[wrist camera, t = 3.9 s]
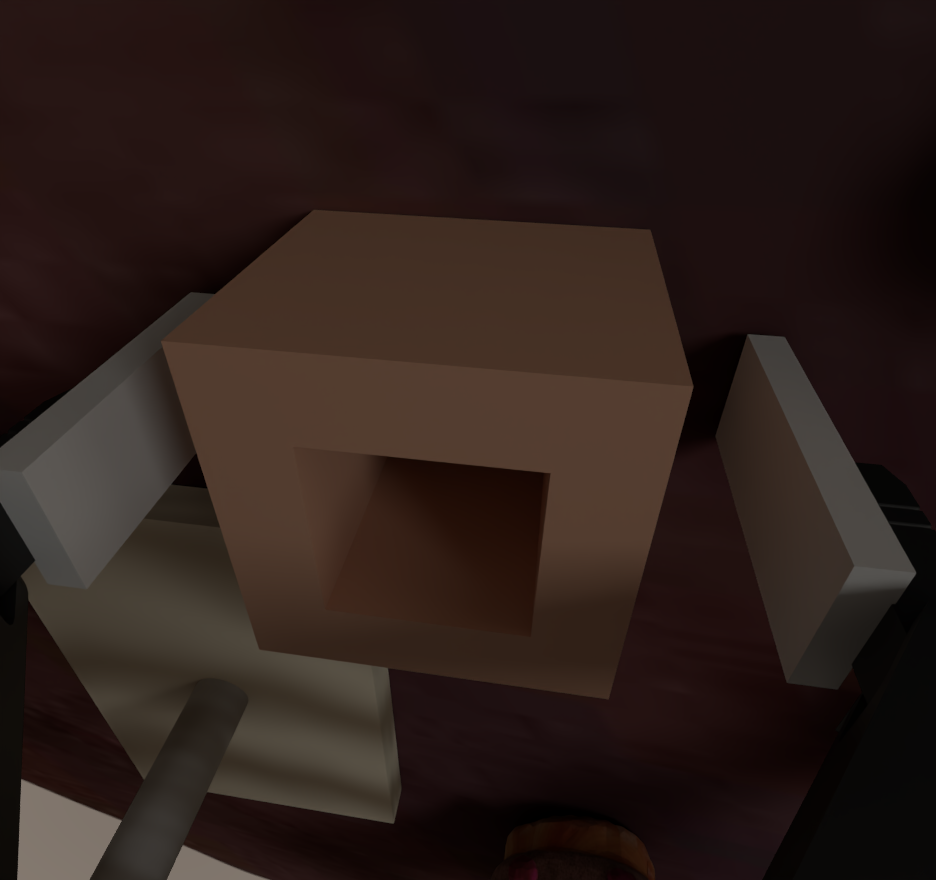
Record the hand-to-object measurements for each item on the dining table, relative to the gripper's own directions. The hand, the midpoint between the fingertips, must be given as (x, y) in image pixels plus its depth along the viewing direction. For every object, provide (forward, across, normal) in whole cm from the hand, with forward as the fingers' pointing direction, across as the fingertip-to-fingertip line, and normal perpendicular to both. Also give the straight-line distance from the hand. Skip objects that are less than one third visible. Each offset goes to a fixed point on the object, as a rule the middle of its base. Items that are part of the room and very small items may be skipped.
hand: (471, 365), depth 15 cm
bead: (0, 0, 0) cm, 0 cm away
